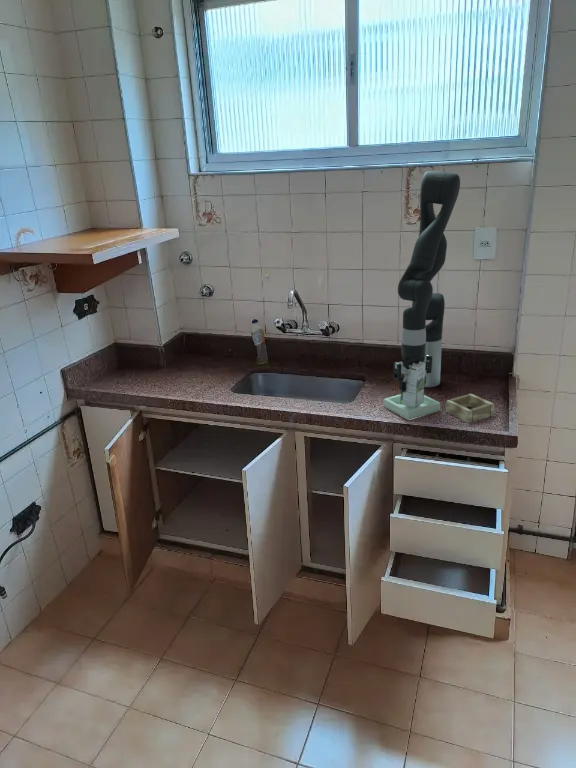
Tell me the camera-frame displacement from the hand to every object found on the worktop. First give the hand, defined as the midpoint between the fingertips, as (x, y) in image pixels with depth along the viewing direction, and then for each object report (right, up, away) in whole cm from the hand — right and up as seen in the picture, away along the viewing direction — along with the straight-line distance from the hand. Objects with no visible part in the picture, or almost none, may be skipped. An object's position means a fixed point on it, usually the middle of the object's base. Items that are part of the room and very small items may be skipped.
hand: (412, 388), depth 191 cm
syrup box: (0, -5, +2) cm, 6 cm away
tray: (0, -7, +3) cm, 7 cm away
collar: (+18, -8, -3) cm, 20 cm away
